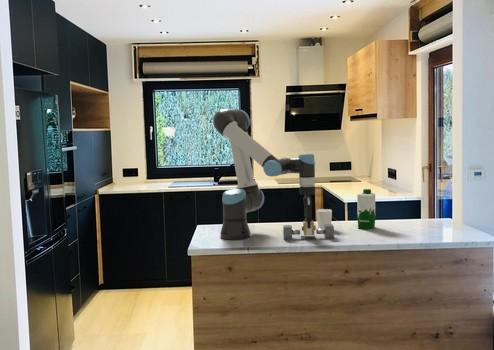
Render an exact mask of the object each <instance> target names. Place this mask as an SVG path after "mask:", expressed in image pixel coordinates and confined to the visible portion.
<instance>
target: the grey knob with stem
mask: <svg viewBox="0 0 494 350" xmlns="http://www.w3.org/2000/svg"><path fill="white" fill-rule="evenodd" d="M334 227H335V226H334V225H333V223H331V224H324V229H318V228H316V230H315V232H316V233H315V234H316V235H323V237H324V239H325V240H328V239H329V240H330V239H331V240H334V239H335V236H334V235H335V232H334V231H335V230H334V229H335V228H334Z"/></svg>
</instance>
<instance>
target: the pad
mask: <svg viewBox="0 0 494 350" xmlns="http://www.w3.org/2000/svg"><path fill="white" fill-rule="evenodd" d="M300 239H301V240H302V241H304V240H305V241H309V240H310V241H311V240H312V239H313V240H314V239H315V240H317V238H316V235H300Z"/></svg>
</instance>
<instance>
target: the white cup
mask: <svg viewBox="0 0 494 350" xmlns="http://www.w3.org/2000/svg"><path fill="white" fill-rule="evenodd" d="M332 215H333V210H332V209H330V208H329V209H328V208H326V209H325V208H321V209H320V208H319V209H316V223H317V229H324V224H332V218H333V216H332Z"/></svg>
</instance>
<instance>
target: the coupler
mask: <svg viewBox="0 0 494 350" xmlns="http://www.w3.org/2000/svg"><path fill="white" fill-rule="evenodd" d="M316 226H317V225H315V221H314V220H312V235H311V236H316V235H315V234H316V233H315V231H316V229H317V227H316ZM301 231H302V232H303V236H307V235H306V222H305V220H303V221H302V225H301Z"/></svg>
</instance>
